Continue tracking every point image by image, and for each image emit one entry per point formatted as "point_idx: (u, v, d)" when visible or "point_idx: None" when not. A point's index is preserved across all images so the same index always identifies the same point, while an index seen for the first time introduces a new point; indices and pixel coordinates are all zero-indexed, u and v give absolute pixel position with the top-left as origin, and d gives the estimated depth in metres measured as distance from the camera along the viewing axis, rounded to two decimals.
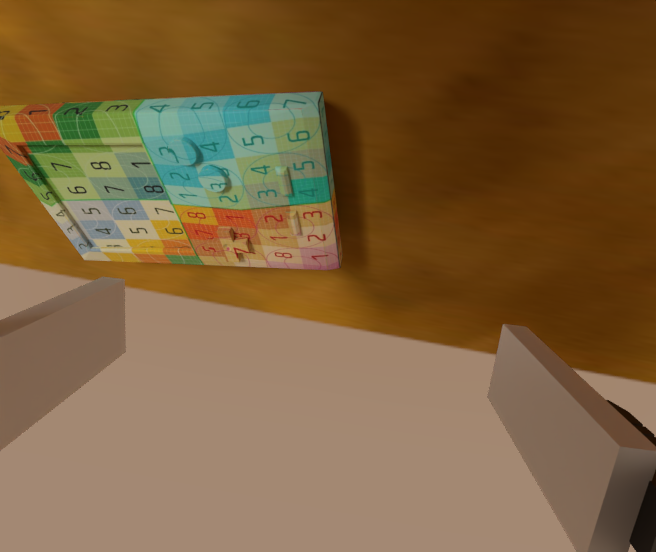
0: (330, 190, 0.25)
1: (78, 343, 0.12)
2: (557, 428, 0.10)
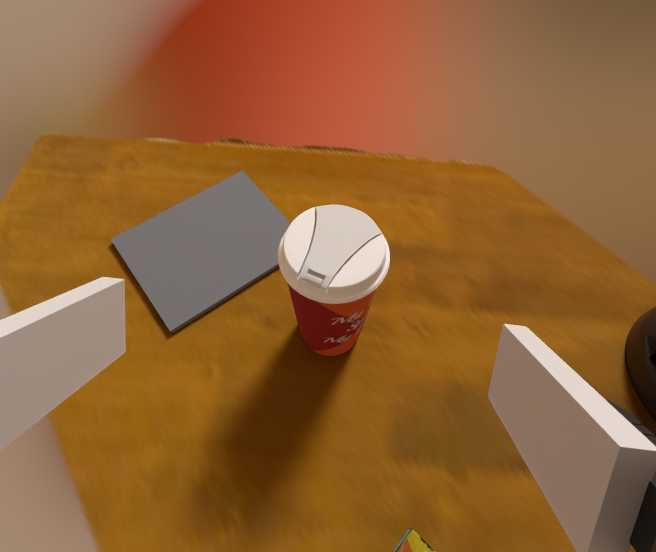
0: None
1: (78, 343, 0.12)
2: (557, 428, 0.10)
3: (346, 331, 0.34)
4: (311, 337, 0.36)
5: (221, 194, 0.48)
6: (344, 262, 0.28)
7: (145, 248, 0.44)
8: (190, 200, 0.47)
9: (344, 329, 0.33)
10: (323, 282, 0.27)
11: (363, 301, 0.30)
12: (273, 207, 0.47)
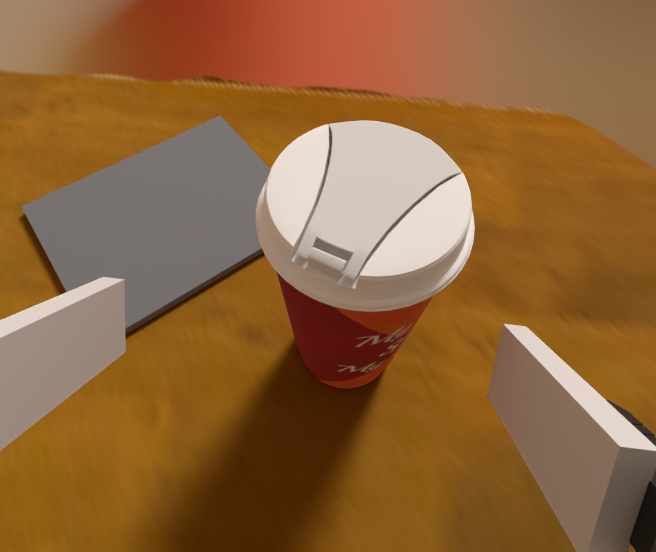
0: None
1: (78, 343, 0.12)
2: (557, 428, 0.10)
3: (379, 356, 0.19)
4: (317, 362, 0.21)
5: (188, 147, 0.33)
6: (390, 226, 0.13)
7: (71, 220, 0.30)
8: (143, 154, 0.33)
9: (376, 354, 0.19)
10: (347, 266, 0.13)
11: (420, 306, 0.15)
12: (262, 165, 0.33)
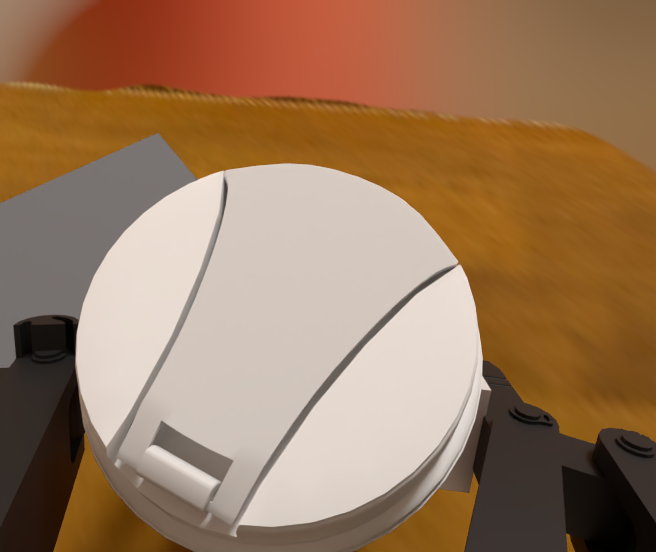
0: None
1: None
2: None
3: None
4: None
5: (114, 173, 0.27)
6: (317, 390, 0.07)
7: None
8: (56, 182, 0.26)
9: None
10: (219, 493, 0.06)
11: None
12: None
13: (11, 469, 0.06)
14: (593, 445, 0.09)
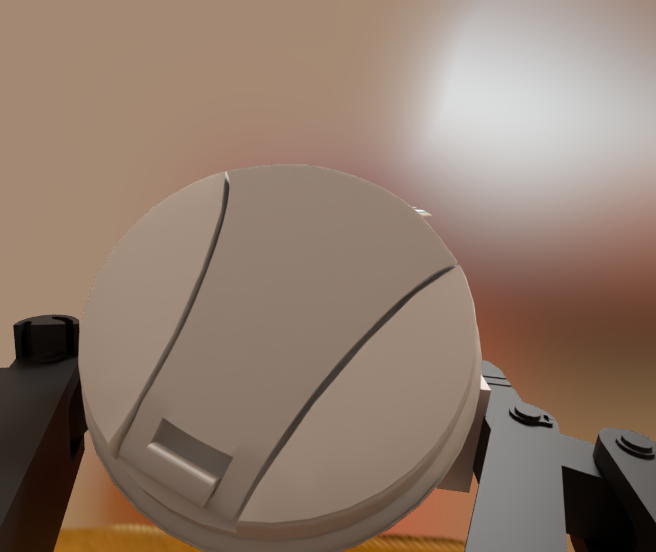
0: None
1: None
2: None
3: None
4: None
5: None
6: (316, 388, 0.07)
7: None
8: None
9: None
10: (219, 489, 0.06)
11: None
12: None
13: (12, 470, 0.06)
14: (593, 445, 0.09)
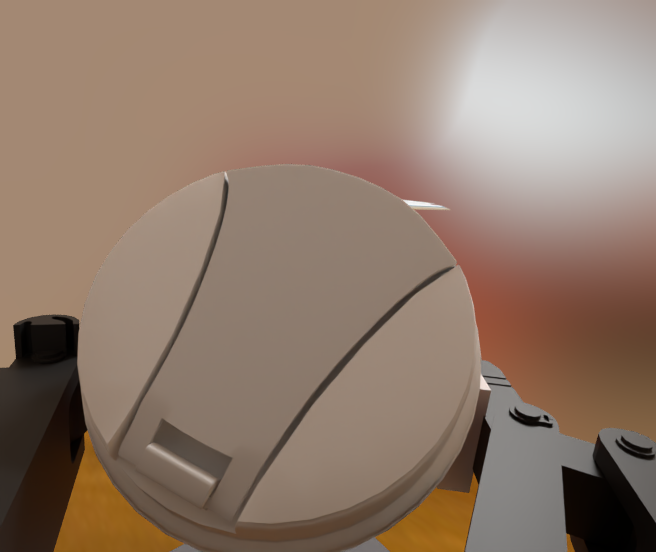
0: None
1: None
2: None
3: None
4: None
5: None
6: (315, 389, 0.07)
7: None
8: None
9: None
10: (219, 490, 0.06)
11: None
12: None
13: (11, 470, 0.06)
14: (593, 445, 0.09)
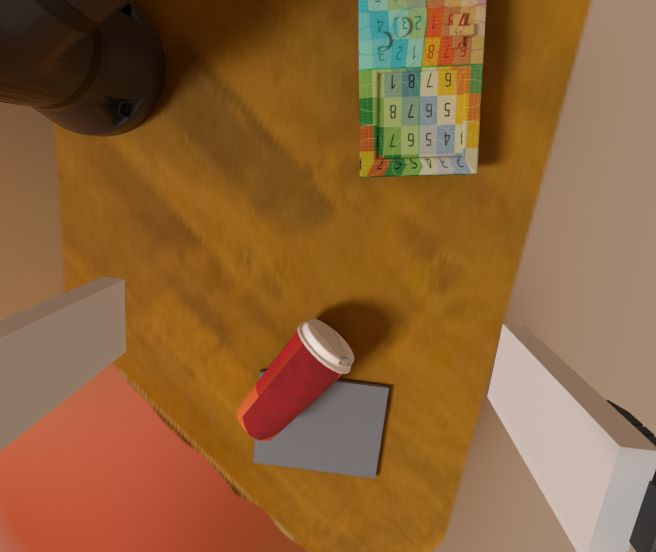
0: None
1: (78, 343, 0.12)
2: (557, 428, 0.10)
3: None
4: (285, 420, 0.48)
5: (283, 455, 0.56)
6: (342, 348, 0.48)
7: (360, 454, 0.55)
8: (306, 466, 0.56)
9: None
10: None
11: None
12: None
13: None
14: None
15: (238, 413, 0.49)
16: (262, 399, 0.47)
